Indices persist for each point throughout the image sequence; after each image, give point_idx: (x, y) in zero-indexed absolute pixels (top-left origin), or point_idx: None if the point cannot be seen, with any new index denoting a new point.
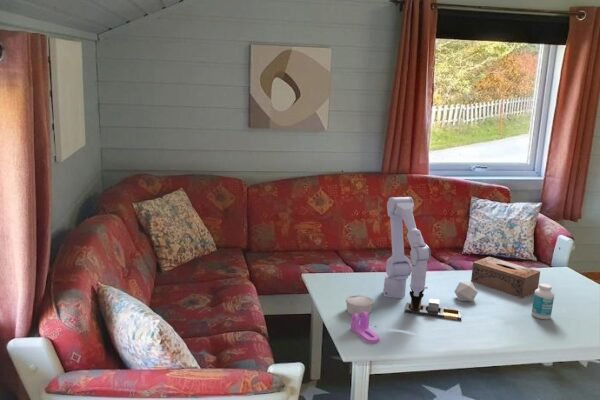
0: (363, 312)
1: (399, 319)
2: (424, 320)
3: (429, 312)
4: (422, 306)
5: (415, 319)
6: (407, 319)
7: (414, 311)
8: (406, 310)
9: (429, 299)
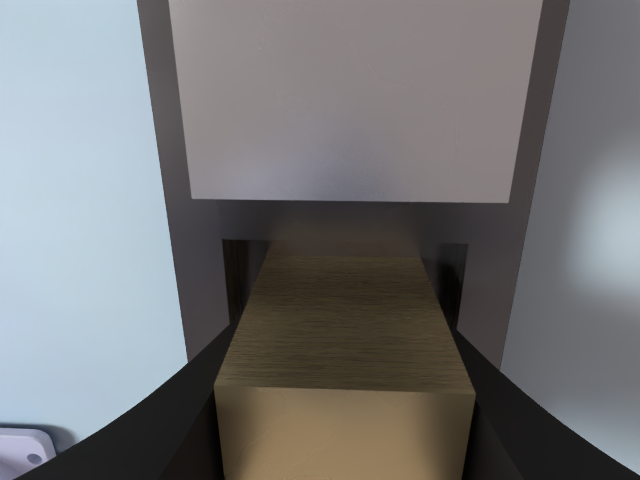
0: None
1: (625, 456)
2: (622, 173)
3: None
4: (228, 244)
5: (600, 294)
6: (614, 382)
7: (498, 355)
8: None
9: (261, 187)
